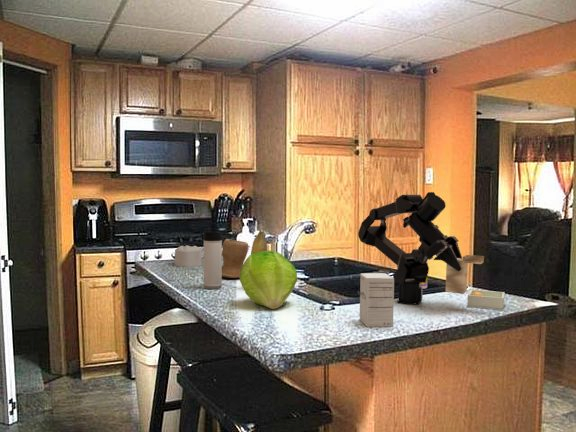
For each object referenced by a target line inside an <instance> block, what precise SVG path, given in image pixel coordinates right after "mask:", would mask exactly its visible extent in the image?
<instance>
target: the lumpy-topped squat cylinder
mask: <svg viewBox="0 0 576 432" xmlns="http://www.w3.org/2000/svg"><path fill="white" fill-rule="evenodd" d="M202 251H203V250H202V249H200V248H198V246H196V245H193V246H192V245H191V246H190V245H187V244H186V245H185V246H184V245H180V246H178V247H177V248H175V250H174V266H175V267H178V268H179V267H180V268H194V267H201V266H202V261H203V259H202V256H203V255H202V253H203V252H202Z"/></svg>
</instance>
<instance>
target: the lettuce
mask: <svg viewBox="0 0 576 432" xmlns="http://www.w3.org/2000/svg"><path fill="white" fill-rule="evenodd" d="M239 282H240V284H241V287H242V289H243V291H244V293H245V295H246V296H247V297H248V298H249V299H250V300H251V301H253V303H255V304H257V305H261V306H264V307H266V308H268V309H272V310H275V309H277V308H279V307H281V306H282V304H283V303H285V301H286V300H287V299H288V298H289V297H290V295H291V293H292V292H293V290H294V288H295V286H296V283H297V282H298V275H297V269H296V267H295V266H294V265H293V263H292V262H291V261H290V260H288V259H287V258H285V255H283V254H282V253H280V252H279V251H274V250H267V251H263V252H258V253H253V254H251V253H250V255H249V256H247V257H246V258H245V260H244V263H243V266H242V269H241V272H240V278H239Z"/></svg>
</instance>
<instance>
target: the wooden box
mask: <svg viewBox="0 0 576 432" xmlns="http://www.w3.org/2000/svg"><path fill="white" fill-rule="evenodd" d="M457 260H458V262H459V264H460V266H461V270H460V271H457V270H456V269H454V268H453V267H451V266H450V265H448V264H447V263H446V268H445V271H446V272H445V273H446V275H445V293H452V294H458V295H459V294H461V295H463V294H465V293H467V291H468V269H469V268H468V267H469V264H473V265H474V264H477V265H481V264H483V263H485V262H484V260H485V256H484V255H475V254H474V255H473V254H466V255H463V256H462V259H461V258H457Z"/></svg>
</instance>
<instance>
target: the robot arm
mask: <svg viewBox="0 0 576 432" xmlns="http://www.w3.org/2000/svg"><path fill="white" fill-rule="evenodd" d="M445 208H446V202H445V200H443V198H442V197H440V196H439V195H437V194H435V192H434V191H429V192H427V193H426V195H425V196H424V197H423V196H422V195H421V194H401V195H399V196H398V197H397V198H396V199H395V201H394V202H391V203H388V204H385V205H381V206H380V207H376V208H372V209H370V211H369V214H368V216H366V218H364V220H363V221H362V222H361V224H360V226H359V230H358V233H357V234H358V235H357V236H358V239H359V241H360V242H361V243H363V244H365V245H367V246H372V247H374V248H376V249H377V250H378V251H380V252H381V253H382V254H383V256H386V258H388V259H389V260H390V261H391V262H392V263H394V264H395V265H396V268H397V269H396V270H395V272H394V274H393V276H392V277H393V278H394V283H397V284H398V299H397V300H396V303H399V304H410V305H419V304H421V302H422V301H423V294H424V293H423V291H424V289H423V288H422V287H421V283H422V282H423V283H425V282H426V279H427V280H428V278H427V275H428V274H429V271H430V267H429V263H428V264H427V261H430V260H433V261H442V262H443V263H445V264H446V265H447V264H448V265H450V266H451V267H453V268H454V269H456V270H457V271H460V270H461V266H460V264H459V262H458V260H457V258H461V259H463V256H462V253H461V250H460V247H459V243H458V242H459V239H458V238H457V237H456V236H453V235H451V236H450V235H449V236H448V235H446V234H444V233H443V231H441V230H440V229H439V228H440V227H439V225H438V224H435V223H433V221H435V219H436V218H437V217H439V215H440V214H441V213H442V212H443V211H444V210H445ZM402 214H410V215H409V216H406V217H404V218H403V219H402V220H403V221H402V222H403V224H402V227H403V228H404V229H405V228H407V227H410V228H411V229H412V230H413V232H415V233H416V235H417V236H418V237H419V238H418V240H419V241H418V242H420V245H419V246H417V248H414V249H412V250H411V252H406V251H404V250H403V249H402V248H400V247H399V246H398V245H397V244H396V243H394V242H393V241H391V240H390V238H388V237H387V236H386V231H387V229H388V227H387V223H386V220H387V219H389V218H393V217H397V216H400V215H402ZM375 221H380V224H379V225H373V224H374V223H375ZM434 256H435V257H434Z"/></svg>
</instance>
